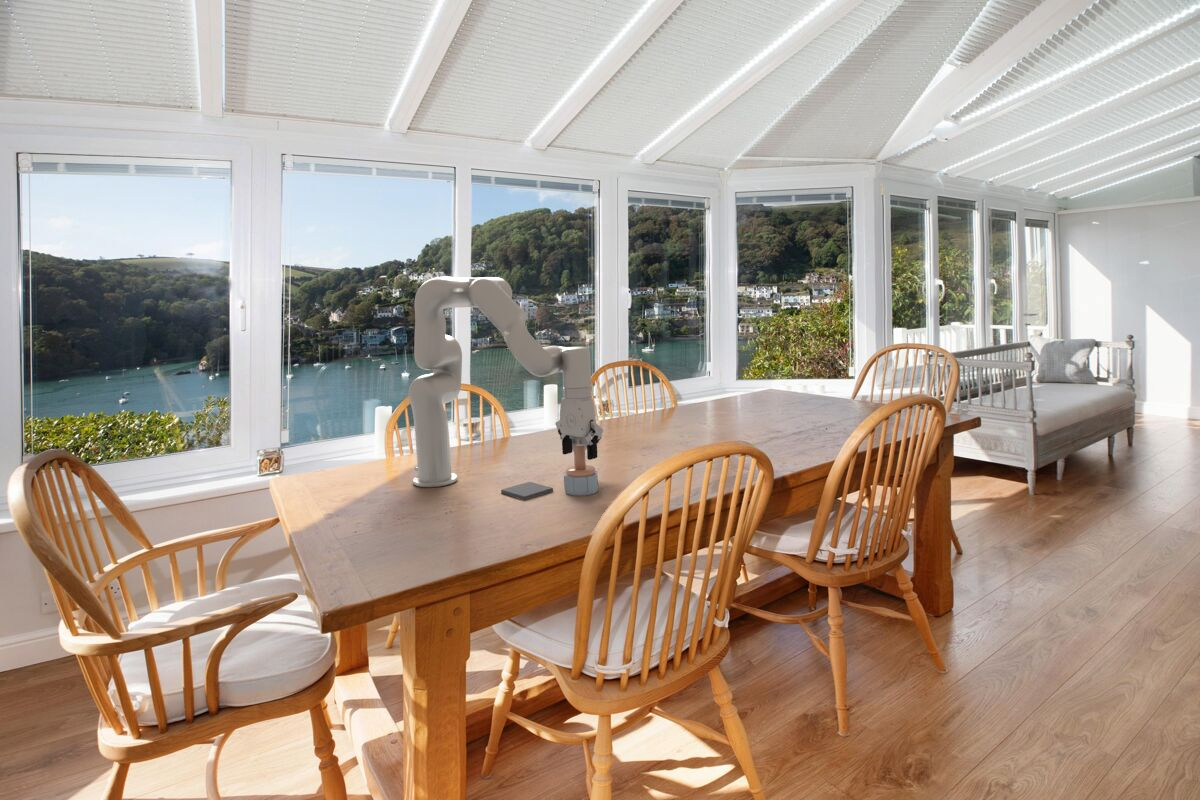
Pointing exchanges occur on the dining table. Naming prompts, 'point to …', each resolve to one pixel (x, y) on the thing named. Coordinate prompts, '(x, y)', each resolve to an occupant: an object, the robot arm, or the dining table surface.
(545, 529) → the dining table surface
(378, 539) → the dining table surface
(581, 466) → the lid
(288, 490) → the dining table surface
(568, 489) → the bowl
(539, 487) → the mat
